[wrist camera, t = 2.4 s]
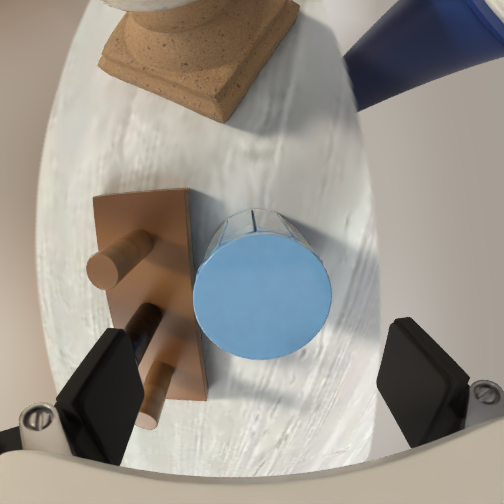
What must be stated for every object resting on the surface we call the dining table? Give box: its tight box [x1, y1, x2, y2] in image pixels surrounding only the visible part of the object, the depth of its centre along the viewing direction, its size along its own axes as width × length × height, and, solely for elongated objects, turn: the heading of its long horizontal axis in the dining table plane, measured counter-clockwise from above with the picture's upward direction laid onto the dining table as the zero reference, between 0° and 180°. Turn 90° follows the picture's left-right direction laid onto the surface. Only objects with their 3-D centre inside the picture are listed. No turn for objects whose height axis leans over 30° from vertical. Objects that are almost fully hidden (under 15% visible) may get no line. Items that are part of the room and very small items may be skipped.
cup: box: [193, 209, 332, 360], centre depth 17 cm, size 7×7×8 cm
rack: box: [86, 188, 208, 430], centre depth 18 cm, size 18×7×8 cm, turn 1°
